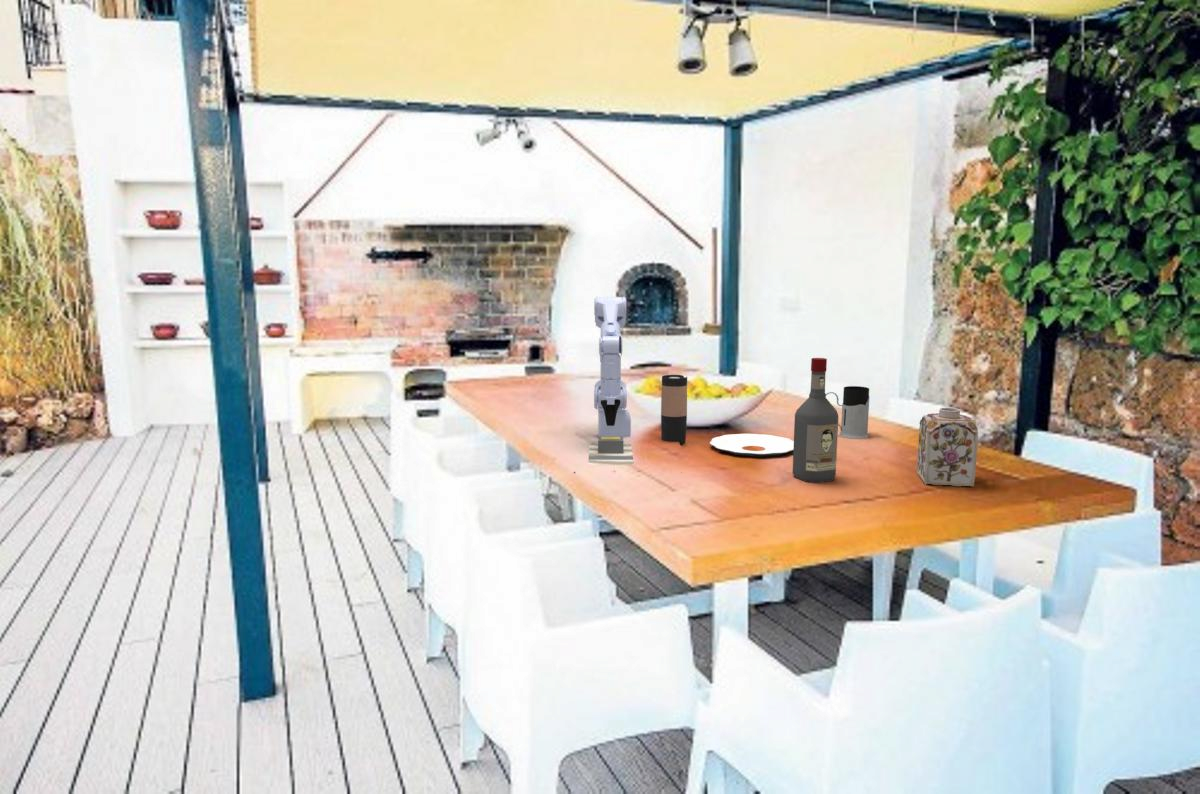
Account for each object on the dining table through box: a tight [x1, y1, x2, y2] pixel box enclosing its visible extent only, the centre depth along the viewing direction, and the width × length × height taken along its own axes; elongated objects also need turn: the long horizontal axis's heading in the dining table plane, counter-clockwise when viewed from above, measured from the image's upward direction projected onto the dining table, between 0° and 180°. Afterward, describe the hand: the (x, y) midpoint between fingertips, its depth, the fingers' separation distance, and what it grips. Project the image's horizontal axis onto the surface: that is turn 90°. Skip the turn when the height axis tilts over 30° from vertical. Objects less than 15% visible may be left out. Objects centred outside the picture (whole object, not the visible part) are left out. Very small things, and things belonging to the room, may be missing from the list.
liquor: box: [792, 357, 840, 484], centre depth 203 cm, size 9×9×30 cm
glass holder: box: [825, 385, 870, 440], centre depth 252 cm, size 9×14×15 cm, turn 89°
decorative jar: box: [916, 407, 979, 487], centre depth 201 cm, size 12×12×18 cm
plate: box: [709, 433, 794, 458], centre depth 236 cm, size 25×25×2 cm
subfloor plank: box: [587, 443, 635, 466], centre depth 225 cm, size 24×12×1 cm, turn 0°
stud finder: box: [597, 436, 625, 453], centre depth 227 cm, size 5×7×4 cm
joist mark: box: [587, 455, 634, 460], centre depth 220 cm, size 4×12×1 cm, turn 90°
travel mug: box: [660, 374, 688, 446], centre depth 242 cm, size 8×8×20 cm
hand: (610, 425), depth 233 cm, fingers closed
